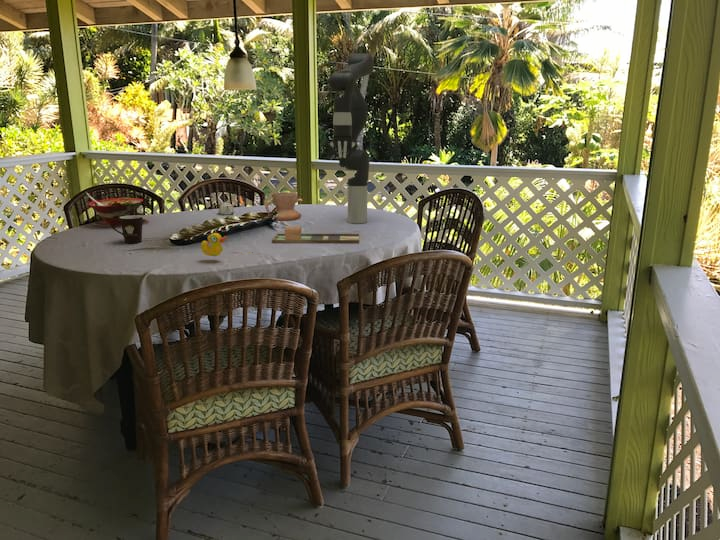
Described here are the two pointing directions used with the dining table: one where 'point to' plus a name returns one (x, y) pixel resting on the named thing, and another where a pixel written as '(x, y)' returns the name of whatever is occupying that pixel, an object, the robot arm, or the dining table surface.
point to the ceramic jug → (285, 206)
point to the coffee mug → (130, 228)
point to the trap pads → (323, 236)
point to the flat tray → (306, 239)
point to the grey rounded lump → (226, 208)
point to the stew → (115, 209)
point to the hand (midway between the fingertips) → (342, 167)
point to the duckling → (213, 245)
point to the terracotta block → (292, 233)
